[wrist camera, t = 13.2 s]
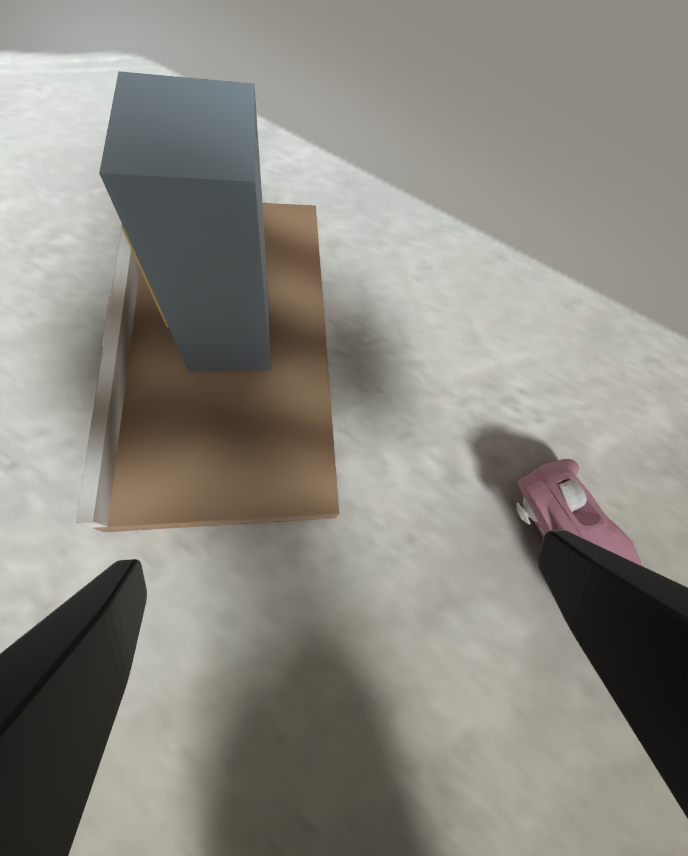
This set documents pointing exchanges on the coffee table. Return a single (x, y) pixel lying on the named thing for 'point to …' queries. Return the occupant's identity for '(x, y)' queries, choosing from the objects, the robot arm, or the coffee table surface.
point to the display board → (214, 407)
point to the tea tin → (194, 212)
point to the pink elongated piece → (569, 508)
